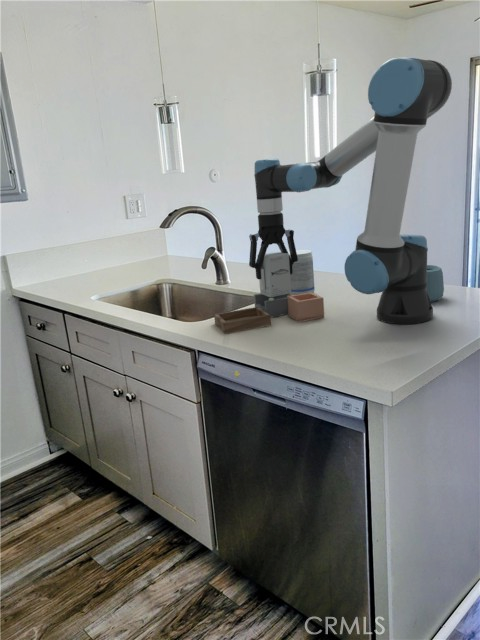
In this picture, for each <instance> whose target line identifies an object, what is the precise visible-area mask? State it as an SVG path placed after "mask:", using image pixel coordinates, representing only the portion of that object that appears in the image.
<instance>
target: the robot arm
mask: <svg viewBox="0 0 480 640" xmlns="http://www.w3.org/2000/svg"><path fill="white" fill-rule="evenodd" d="M452 81H453V80H452V77H451V74H450V72H449V69H448V68H446V66H445V65H443V64H442V63H440V62H439V61H436V60H431V59H421V58H416V57H408V56H405V57H395V58H390V59H389V60H387V61H385V62H384V63H382V64H381V65H380V66H379V67H378V68H377V69H376V70H375V72H374V73H373V75H372V76H371V79H370V81H369V85H368V89H367V99H368V103H369V104H370V106H371V109H372V110H373V111H374V115H373V117H372V118H370V119H369V120H367V121H366V122H365V123H364V124H363V125H362V126H360V127H359V128H357V130H355V131H353V133H351V134H350V135H348V137H347V138H345V139H344V140H342V142H340V143H339V144H338V145H336V146H335V147H334V148H332V149H331V150H330V151H329V152H327V154H325V155H324V156H323V157H322V158H320V159H319V160H317V161H312V162H311V161H310V162H301V163H291V164H284V165H283V164H281V161H280V159H278V158H269V159H257V160H256V161H255V162H254V175H253V176H254V182H255V194H256V195H255V196H256V205H257V207H256V209H257V214H258V216H257V222H258V223H257V224H258V230H257V232H256V233H253V234H252V233H251V234H249V241H250V249H249V263H248V267H250V268H253V269H254V270H255V278H256V279H257V280H259V290H260V289H262V290H265V281H264V269H263V268H261V266H262V263H263V260H264V256H265V253H267V250H268V248H269V246H270V245H273V244H274V245H276V246H278V248H279V250H280V251H279V252H282V253H287V254H288V252H289V251H290V255H291V258H290V256H289V266H290V275H291V274H292V273H293V271H292V265H293V263H294V262H297V261H298V258H297V253H296V250H297V249H296V244H295V241H294V235H295V231H294V230H293V229H286V228H285V227H284V213H283V210H284V209H283V193H305V192H309V191H311V190H316V189H323V188H324V189H325V188H331V187H332V186H333V187H334V186H335V185H339V183H341V180H342V178H343V176H344V175H345V174H346V173H348V172H349V171H351V170H352V169H354V168H355V167H356V166H358V165H359V164H360V163H361V162H363V161H364V160H366V159H367V158H368V157H369V156H372V155H373V154H374V153H375V157H374V162H373V168H372V177H371V183H370V184H371V185H370V190H369V196H368V198H369V199H368V203H367V211H366V218H365V225H364V231H362V232H361V233H360V234H359V235H357V238H356V242H355V243H356V244H355V250H354V251H352V252H351V253H349V255H348V256H347V257H346V259H345V261H344V274H345V277H346V281H348V282H349V284H350V286H351V287H352V288H353V289H354V290H355V291H357V292H359V293H361V294H365V295H374V294H379V293H381V295H380V298H379V300H378V304H377V307H376V318H377V319H378V320H380V322H381V321H382V322H384V323H388V324H397V325H412V324H413V325H414V324H421V323H425V322H428V321H431V320H432V319H433V318H434V307H433V305H432V302H431V301H430V298H429V295H428V292H427V265H428V250H429V248H428V243H427V241H428V239H427V237H425V236H424V235H421V234H401V228H402V223H403V217H404V211H405V206H406V205H405V204H406V201H407V200H406V199H407V194H408V188H409V183H410V178H411V171H412V166H413V161H414V155H415V150H416V144H417V139H418V137H417V136H418V133H419V132H421V131H422V130H423V129H424V128H425V127H427V121H428V119H429V118H431V117H432V116H433V115H435V114H436V113H437V112H439V111H440V110H441V109H442V108H443V107H444V106H445V104H446V103H447V102H448V100H449V98H450V95H451V93H452V88H453V86H452V85H453V83H452ZM284 236H285V237H286V240H287V241H286V242H287V245H288V249H289V251H288V249H287V248H286V246H285V242H284V240H283V237H284ZM259 238H260V240H261V243H260V248H259V252H258V254H257V251H258V250H257V248H258V240H259ZM290 283H291V282H290Z"/></svg>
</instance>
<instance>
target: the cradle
mask: <svg viewBox="0 0 480 640" xmlns="http://www.w3.org/2000/svg"><path fill="white" fill-rule="evenodd" d="M292 295H295V294H292ZM292 295H289V294H285V295H279V296H275V297H272V298H271V297H268V296H266V295H263V294H261V293H259V292H258V293H254V294H253V299H254V301H253V302H254V307H259V308H261V309H262V310H264V311H265V312H267V313H268V314H269V315H271V318H273V317H279V316H280V317H281V316H284V315H285V316H286V315H289V313H288V298H287V296H292Z"/></svg>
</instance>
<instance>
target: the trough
mask: <svg viewBox="0 0 480 640" xmlns="http://www.w3.org/2000/svg"><path fill="white" fill-rule="evenodd" d="M213 318H214V324H215V325H216V326H217V327H218V328H219V329H220V330H221V331H222V333H223V334H232V333H236V332H242V331H248V330H253V329H259V328H265V327H271V326H272V317H271V315H269V314H268V313H267V312H265V311H264V310H262V309H261V308H259V307H255V306H254V307H249V308H244V309H237V310H232V311H225V312H221V313H214V314H213Z"/></svg>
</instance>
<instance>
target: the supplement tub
mask: <svg viewBox="0 0 480 640" xmlns="http://www.w3.org/2000/svg"><path fill="white" fill-rule="evenodd" d="M296 253H297V258H298V261H297V262H294V263H293V265H292V271H293V273H292V274H291V275H290V282H291V293H290V294H288V296H290V295H292V294H295V295H298V294H304V293H310V292H312V293H314V292H315V291H316V290H315V277H314V276H315V273H314V258H313V251H312V250H310V249H296ZM288 254H289V256H290V258H291V255H290V251H288Z"/></svg>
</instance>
